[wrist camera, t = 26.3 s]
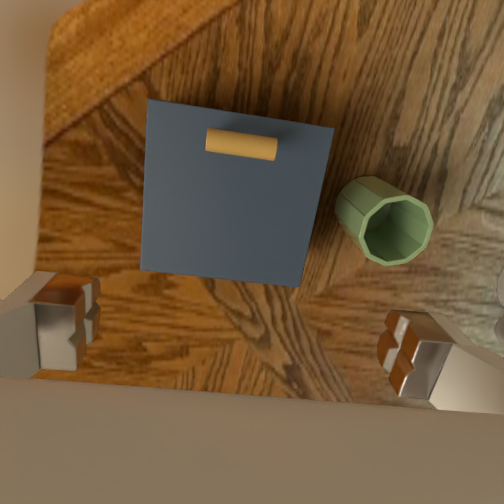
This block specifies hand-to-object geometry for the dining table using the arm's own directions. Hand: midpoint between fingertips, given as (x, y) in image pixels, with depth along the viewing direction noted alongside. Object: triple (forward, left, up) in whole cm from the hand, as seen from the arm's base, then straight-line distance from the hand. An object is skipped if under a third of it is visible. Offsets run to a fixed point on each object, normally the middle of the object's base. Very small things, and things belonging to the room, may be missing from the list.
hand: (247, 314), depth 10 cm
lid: (0, +3, -22) cm, 22 cm away
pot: (-14, +3, -29) cm, 33 cm away
